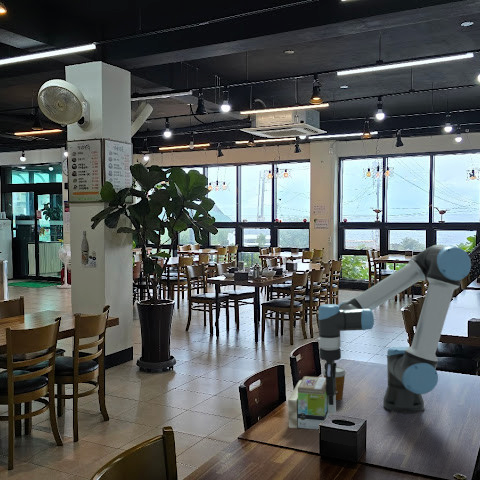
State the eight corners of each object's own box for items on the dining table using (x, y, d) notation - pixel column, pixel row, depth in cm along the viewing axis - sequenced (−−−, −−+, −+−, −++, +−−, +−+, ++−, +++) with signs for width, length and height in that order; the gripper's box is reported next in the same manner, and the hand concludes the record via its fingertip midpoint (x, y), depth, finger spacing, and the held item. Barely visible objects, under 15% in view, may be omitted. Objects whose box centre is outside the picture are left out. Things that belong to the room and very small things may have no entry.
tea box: (325, 430, 192) (325, 388, 191) (297, 428, 195) (296, 387, 194) (330, 415, 206) (329, 376, 206) (303, 413, 209) (302, 375, 208)
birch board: (307, 405, 218) (306, 380, 217) (297, 428, 195) (296, 400, 194) (300, 405, 219) (299, 380, 218) (288, 427, 196) (288, 399, 195)
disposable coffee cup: (320, 400, 223) (319, 371, 223) (325, 393, 232) (325, 365, 232) (343, 403, 220) (343, 373, 219) (348, 395, 228) (348, 367, 228)
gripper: (321, 343, 205) (323, 405, 206) (317, 351, 193) (319, 418, 193) (342, 343, 203) (344, 407, 204) (338, 352, 190) (340, 419, 191)
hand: (332, 412), depth 199 cm, fingers closed
